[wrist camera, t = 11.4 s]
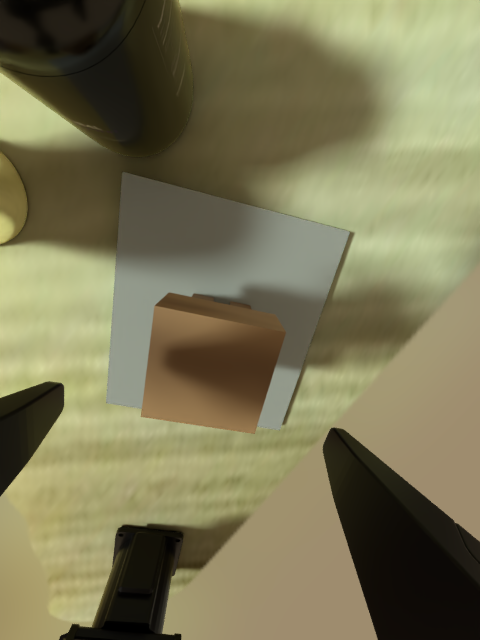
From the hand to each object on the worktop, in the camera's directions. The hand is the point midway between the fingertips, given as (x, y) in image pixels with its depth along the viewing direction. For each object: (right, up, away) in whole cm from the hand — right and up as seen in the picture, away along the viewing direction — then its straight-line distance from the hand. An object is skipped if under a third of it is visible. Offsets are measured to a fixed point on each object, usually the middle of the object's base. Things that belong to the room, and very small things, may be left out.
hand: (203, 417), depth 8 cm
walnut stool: (0, +3, +9) cm, 9 cm away
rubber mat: (-1, +3, +9) cm, 10 cm away
